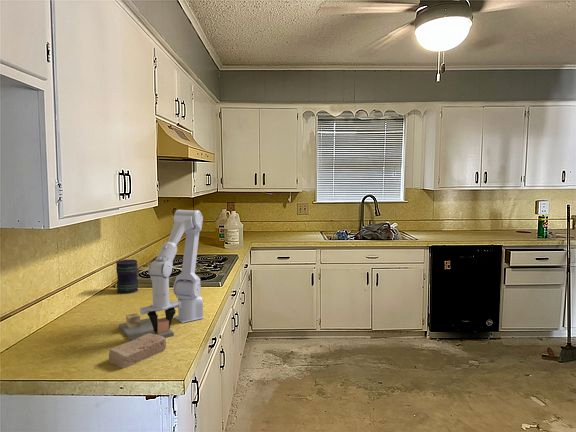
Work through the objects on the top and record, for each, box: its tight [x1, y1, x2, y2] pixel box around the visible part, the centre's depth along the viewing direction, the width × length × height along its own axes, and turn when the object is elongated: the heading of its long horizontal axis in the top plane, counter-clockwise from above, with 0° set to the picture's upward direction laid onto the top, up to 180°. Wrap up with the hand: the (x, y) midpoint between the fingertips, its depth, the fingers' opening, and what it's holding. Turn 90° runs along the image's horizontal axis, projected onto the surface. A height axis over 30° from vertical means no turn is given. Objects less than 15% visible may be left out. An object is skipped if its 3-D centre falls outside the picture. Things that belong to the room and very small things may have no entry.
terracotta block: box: [157, 317, 169, 334], centre depth 151 cm, size 4×4×4 cm
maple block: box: [125, 312, 141, 329], centre depth 156 cm, size 4×4×4 cm
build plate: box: [118, 317, 175, 342], centre depth 154 cm, size 14×20×1 cm
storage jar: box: [115, 259, 139, 295], centre depth 205 cm, size 10×10×15 cm
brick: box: [108, 333, 167, 369], centre depth 134 cm, size 17×8×5 cm, turn 147°
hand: (161, 329), depth 152 cm, fingers closed on terracotta block, 4 cm apart
